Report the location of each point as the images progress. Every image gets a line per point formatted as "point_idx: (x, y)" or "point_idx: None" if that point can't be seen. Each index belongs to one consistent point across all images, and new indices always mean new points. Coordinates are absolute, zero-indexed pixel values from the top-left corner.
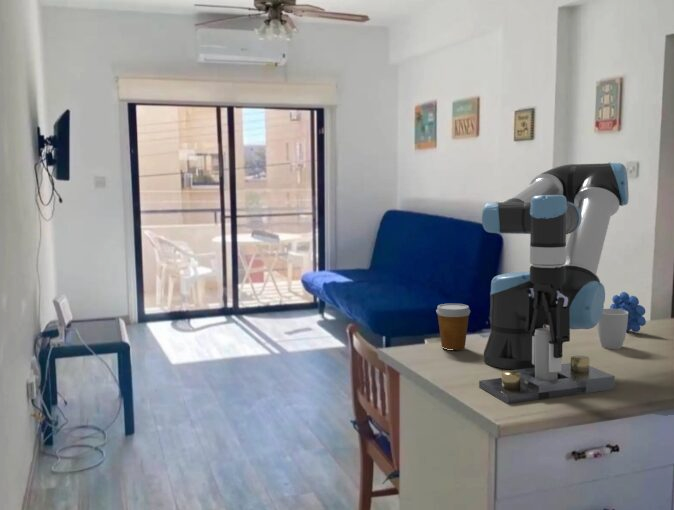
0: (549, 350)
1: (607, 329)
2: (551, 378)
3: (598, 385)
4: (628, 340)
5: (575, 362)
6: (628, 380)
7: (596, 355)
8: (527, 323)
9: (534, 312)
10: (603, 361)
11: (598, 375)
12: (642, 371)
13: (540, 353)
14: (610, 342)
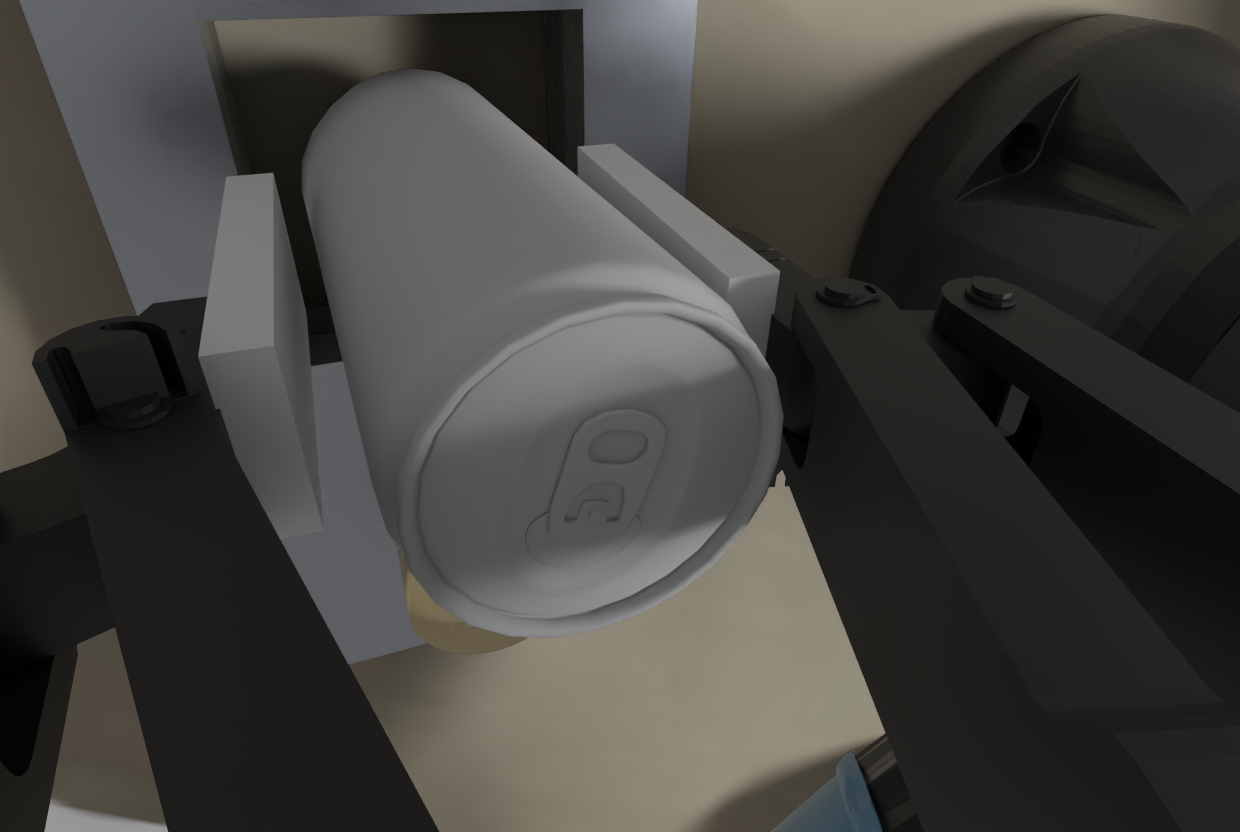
0: (257, 286)
1: None
2: (306, 197)
3: None
4: None
5: None
6: (430, 711)
7: (844, 685)
8: (1047, 341)
9: (1087, 585)
10: (758, 688)
11: (312, 597)
12: (550, 790)
13: (408, 179)
14: None
